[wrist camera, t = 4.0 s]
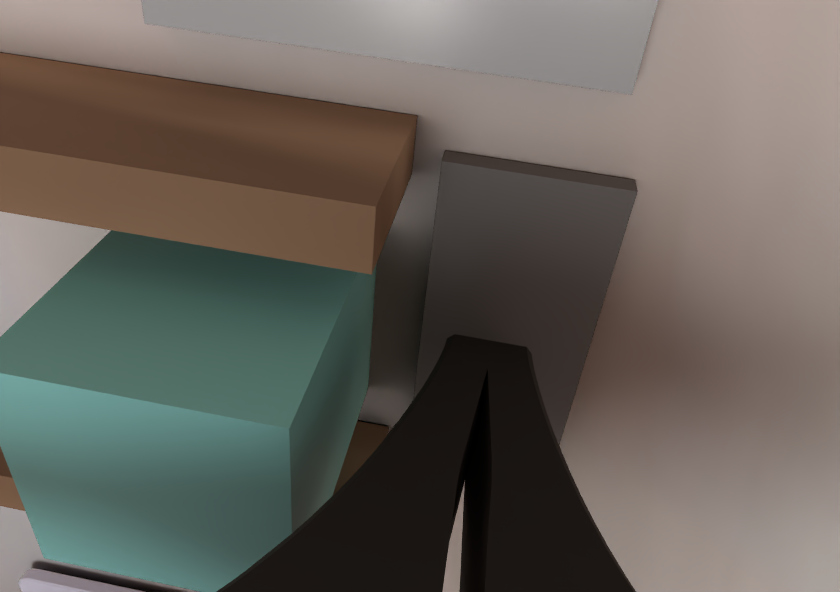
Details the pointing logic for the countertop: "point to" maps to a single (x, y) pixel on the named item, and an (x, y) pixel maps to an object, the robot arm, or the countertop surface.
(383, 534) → the robot arm
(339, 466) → the block
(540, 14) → the tile
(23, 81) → the channel
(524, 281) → the mat
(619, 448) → the countertop surface
